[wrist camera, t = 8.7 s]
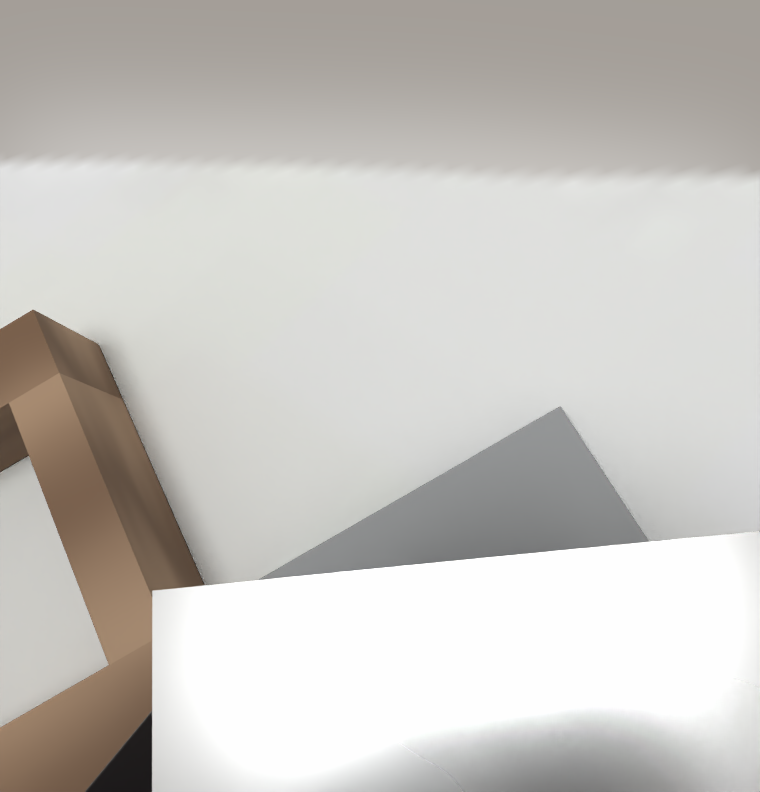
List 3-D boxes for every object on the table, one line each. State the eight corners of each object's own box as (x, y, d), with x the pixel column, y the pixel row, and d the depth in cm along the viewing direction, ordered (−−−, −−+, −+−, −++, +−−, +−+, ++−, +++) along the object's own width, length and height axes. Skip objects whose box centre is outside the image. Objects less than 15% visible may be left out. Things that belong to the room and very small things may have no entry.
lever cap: (623, 745, 15) (991, 1253, 4) (403, 758, 16) (151, 1217, 4) (592, 562, 16) (804, 527, 5) (387, 582, 17) (152, 590, 6)
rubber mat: (779, 747, 15) (787, 753, 15) (430, 939, 15) (428, 951, 15) (558, 410, 18) (560, 406, 17) (263, 579, 18) (256, 580, 18)
